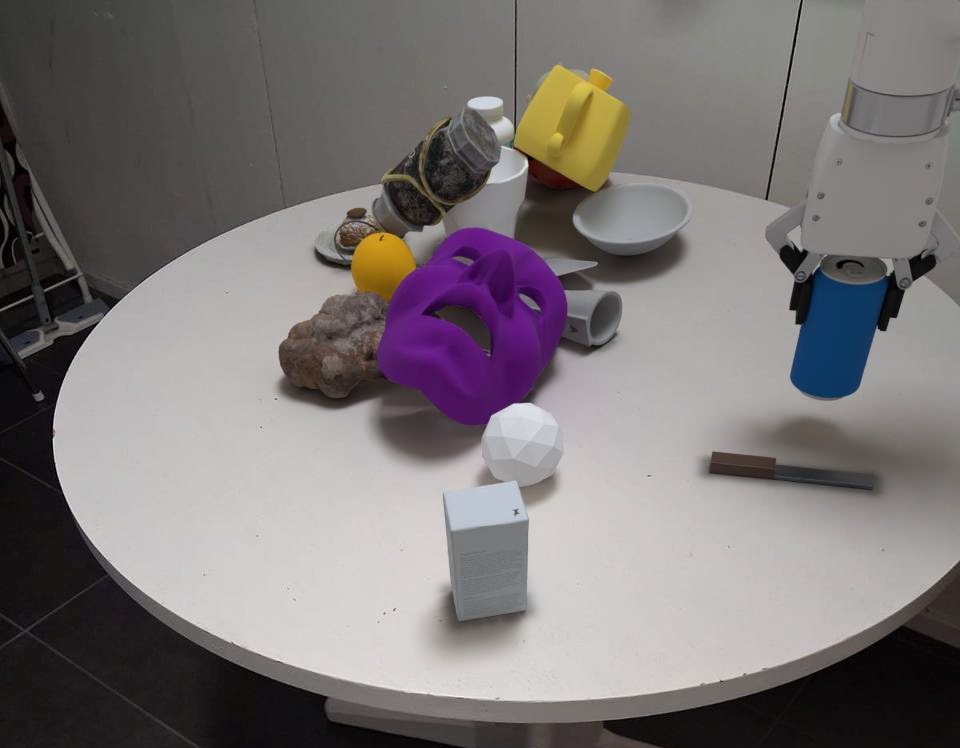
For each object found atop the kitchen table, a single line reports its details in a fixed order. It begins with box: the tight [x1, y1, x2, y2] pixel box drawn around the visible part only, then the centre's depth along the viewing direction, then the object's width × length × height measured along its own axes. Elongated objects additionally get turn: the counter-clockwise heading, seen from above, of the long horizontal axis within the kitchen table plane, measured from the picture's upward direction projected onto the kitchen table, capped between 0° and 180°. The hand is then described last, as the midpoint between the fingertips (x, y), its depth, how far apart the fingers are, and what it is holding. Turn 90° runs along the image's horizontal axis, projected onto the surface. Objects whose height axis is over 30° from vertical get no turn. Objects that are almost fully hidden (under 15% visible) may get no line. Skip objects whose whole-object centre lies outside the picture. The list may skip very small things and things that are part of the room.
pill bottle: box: [466, 96, 515, 150], centre depth 127 cm, size 8×7×14 cm
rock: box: [277, 291, 442, 399], centre depth 104 cm, size 18×12×10 cm, turn 108°
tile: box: [543, 258, 598, 277], centre depth 114 cm, size 20×11×1 cm, turn 124°
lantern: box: [334, 106, 502, 265], centre depth 114 cm, size 9×8×25 cm
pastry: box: [314, 207, 405, 266], centre depth 125 cm, size 12×12×5 cm
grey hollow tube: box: [518, 289, 623, 347], centre depth 111 cm, size 6×6×19 cm
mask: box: [377, 228, 568, 427], centre depth 94 cm, size 17×15×25 cm
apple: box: [350, 233, 417, 303], centre depth 115 cm, size 8×8×8 cm
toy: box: [514, 61, 590, 190], centre depth 132 cm, size 15×15×15 cm
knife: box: [709, 450, 875, 490], centre depth 90 cm, size 15×2×1 cm, turn 76°
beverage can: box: [789, 255, 889, 402], centre depth 86 cm, size 6×6×12 cm
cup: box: [441, 146, 528, 266], centre depth 119 cm, size 12×12×11 cm
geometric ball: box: [481, 402, 565, 488], centre depth 89 cm, size 8×8×8 cm
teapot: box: [514, 64, 632, 193], centre depth 119 cm, size 20×12×12 cm
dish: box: [572, 181, 694, 256], centre depth 120 cm, size 18×14×5 cm
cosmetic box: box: [442, 481, 530, 622], centre depth 76 cm, size 6×4×12 cm
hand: (840, 318), depth 86 cm, fingers closed on beverage can, 6 cm apart
